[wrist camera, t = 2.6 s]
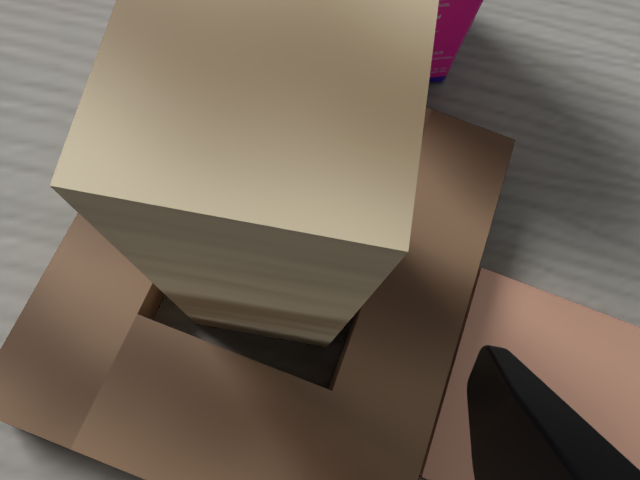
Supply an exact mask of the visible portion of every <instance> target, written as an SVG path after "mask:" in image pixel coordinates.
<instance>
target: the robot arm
mask: <svg viewBox="0 0 640 480" xmlns="http://www.w3.org/2000/svg"><path fill="white" fill-rule="evenodd" d="M467 403H468V416H469V429H470V441H471V454H472V465H473V472H474V478H475V480H640V470H639V469H638V468H637V467H636V466H635V465H634V464H633V463H631V462H630V461H629V460H628V459H627V458H626V457H625V456H624V455H623V454H622V453H620V452H619V451H618V450H617V449H616V448H615V447H614V446H613V445H612V444H611V443H610V442H608V441H607V440H606V439H605V438H604V437H603V436H602V435H601V434H600V433H599V432H598V431H596V430H595V429H594V428H593V427H592V426H591V425H590V424H589V423H588V422H587V421H586V420H584V419H583V418H582V417H581V416H580V415H579V414H578V413H577V412H576V411H575V410H573V409H572V408H571V407H570V406H569V405H568V404H567V403H566V402H565V401H564V400H563V399H561V398H560V397H559V396H558V395H557V394H556V393H555V392H554V391H553V390H552V389H551V388H549V387H548V386H547V385H546V384H545V383H544V382H543V381H542V380H541V379H540V378H538V377H537V376H536V375H535V374H534V373H533V372H532V371H531V370H530V369H529V368H528V367H526V366H525V365H524V364H523V363H522V362H521V361H520V360H519V359H518V358H517V357H516V356H514V355H513V354H512V353H511V352H510V351H509V350H508V349H506V348H502V347H496V346H491V345H485V346H483V347H482V348H481V349H480V351H479V353H478V356H477V358H476V361H475V363H474V366H473V368H472V371H471V373H470V376H469V378H468V382H467Z"/></svg>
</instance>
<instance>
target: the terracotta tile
mask: <svg viewBox="0 0 640 480" xmlns="http://www.w3.org/2000/svg"><path fill="white" fill-rule="evenodd" d="M485 345H491V346H496V347H502V348H506V349H508V350H509V351H510V352H511V353H512V354H513V355H514V356H516V357H517V358H518V359H519V360H520V361H521V362H522V363H523V364H524V365H525V366H526V367H528V368H529V369H530V370H531V371H532V372H533V373H534V374H535V375H536V376H537V377H538V378H540V379H541V380H542V381H543V382H544V383H545V384H546V385H547V386H548V387H549V388H551V389H552V390H553V391H554V392H555V393H556V394H557V395H558V396H559V397H560V398H561V399H563V400H564V401H565V402H566V403H567V404H568V405H569V406H570V407H571V408H572V409H573V410H575V411H576V412H577V413H578V414H579V415H580V416H581V417H582V418H583V419H584V420H586V421H587V422H588V423H589V424H590V425H591V426H592V427H593V428H594V429H595V430H596V431H598V432H599V433H600V434H601V435H602V436H603V437H604V438H605V439H606V440H607V441H608V442H610V443H611V444H612V445H613V446H614V447H615V448H616V449H617V450H618V451H619V452H620V453H622V454H623V455H624V456H625V457H626V458H627V459H628V460H629V461H630V462H631V463H633V464H634V465H635V466H636V467H637V468H638V469H639V470H640V327H637V326H635V325H632V324H629V323H627V322H624V321H621V320H619V319H616V318H614V317H611V316H608V315H606V314H603V313H600V312H598V311H595V310H592V309H590V308H587V307H585V306H582V305H579V304H577V303H574V302H571V301H569V300H566V299H563V298H561V297H558V296H556V295H553V294H550V293H548V292H545V291H542V290H540V289H537V288H535V287H532V286H529V285H527V284H524V283H521V282H519V281H516V280H513V279H511V278H508V277H506V276H503V275H500V274H498V273H495V272H492V271H490V270H487V269H485V268H482V267H481V268H480V269H478V272H477V275H476V279H475V282H474V286H473V289H472V293H471V296H470V300H469V303H468V307H467V310H466V314H465V317H464V321H463V324H462V328H461V331H460V335H459V338H458V342H457V345H456V349H455V352H454V356H453V359H452V363H451V366H450V370H449V373H448V376H447V380H446V383H445V387H444V390H443V394H442V397H441V401H440V404H439V408H438V411H437V415H436V418H435V422H434V425H433V429H432V432H431V436H430V439H429V443H428V446H427V450H426V453H425V457H424V460H423V464H422V467H421V471H420V474H419V476H421V477H423V478H426V479H428V480H475V478H474V472H473V465H472V454H471V441H470V429H469V416H468V403H467V382H468V378H469V376H470V373H471V371H472V368H473V366H474V363H475V361H476V358H477V356H478V353H479V351H480V349H481V348H482V347H483V346H485Z"/></svg>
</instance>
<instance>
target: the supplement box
mask: <svg viewBox="0 0 640 480" xmlns="http://www.w3.org/2000/svg"><path fill="white" fill-rule="evenodd" d="M482 2H483V0H439V4H438V12H437V20H436V28H435V37H434V45H433V53H432V61H431V69H430V78H429V83H436V82H443V81H444V80H445V78H446V75H447V73H448V71H449V69H450V67H451V65H452V63H453V61H454V59H455V57H456V55H457V53H458V50H459V48H460V46H461V44H462V42H463V40H464V38H465V36H466V34H467V32H468V30H469V28H470V26H471V24H472V22H473V20H474V18H475V16H476V14H477V12H478V10H479V8H480V6H481V4H482Z"/></svg>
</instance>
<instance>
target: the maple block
mask: <svg viewBox="0 0 640 480" xmlns="http://www.w3.org/2000/svg"><path fill="white" fill-rule="evenodd" d="M438 4H439V0H116V3H115V6H114V8H113V11H112V14H111V17H110V20H109V22H108V25H107V28H106V31H105V33H104V36H103V39H102V42H101V45H100V47H99V50H98V53H97V56H96V58H95V61H94V64H93V67H92V70H91V72H90V75H89V78H88V81H87V83H86V86H85V89H84V92H83V95H82V97H81V100H80V103H79V106H78V108H77V111H76V114H75V117H74V120H73V122H72V125H71V128H70V131H69V133H68V136H67V139H66V142H65V145H64V147H63V150H62V153H61V156H60V158H59V161H58V164H57V167H56V169H55V172H54V175H53V178H52V181H51V183H50V186H51V187H52V188H53V189H54V190H55V191H56V192H57V193H58V194H59V195H60V196H61V197H62V198H63V199H64V200H65V201H67V202H68V203H69V204H70V205H71V206H72V207H73V208H74V209H75V210H76V211H77V212H78V213H79V214H80V215H81V216H82V217H83V218H85V219H86V220H87V221H88V222H89V223H90V224H91V225H92V226H93V227H94V228H95V229H96V230H97V231H98V232H99V233H100V234H101V235H103V236H104V237H105V238H106V239H107V240H108V241H109V242H110V243H111V244H112V245H113V246H114V247H115V248H116V249H117V250H118V251H119V252H121V253H122V254H123V255H124V256H125V257H126V258H127V259H128V260H129V261H130V262H131V263H132V264H133V265H134V266H135V267H136V268H137V269H138V270H140V271H141V272H142V273H143V274H144V275H145V276H146V277H147V278H148V279H149V280H150V281H151V282H152V283H153V284H154V285H155V286H156V287H158V288H159V289H160V290H161V291H162V292H163V293H164V294H165V295H166V296H167V297H168V298H169V299H170V300H171V301H172V302H173V303H174V304H176V305H177V306H178V307H179V308H180V309H181V310H182V311H183V312H184V313H185V314H186V315H187V316H188V317H189V318H190V319H191V320H192V321H194V322H195V323H196V324H201V325H207V326H212V327H218V328H224V329H229V330H235V331H240V332H246V333H251V334H257V335H262V336H268V337H273V338H279V339H285V340H290V341H296V342H301V343H307V344H312V345H318V346H323V347H327V346H328V345H329V344H330V343H331V342H332V340H333V339H334V338H335V337H336V336H337V335H338V333H339V332H340V331H341V330H342V329H343V328H344V326H345V325H346V324H347V323H348V322H349V321H350V319H351V318H352V317H353V316H354V315H355V314H356V312H357V311H358V310H359V309H360V308H361V307H362V305H363V304H364V303H365V302H366V301H367V300H368V298H369V297H370V296H371V295H372V294H373V293H374V291H375V290H376V289H377V288H378V287H379V286H380V284H381V283H382V282H383V281H384V280H385V279H386V277H387V276H388V275H389V274H390V273H391V272H392V270H393V269H394V268H395V267H396V266H397V265H398V263H399V262H400V261H401V260H402V259H403V258H404V256H405V255H406V254H407V253H408V251H409V242H410V234H411V226H412V218H413V209H414V201H415V193H416V185H417V177H418V168H419V160H420V152H421V144H422V135H423V127H424V119H425V111H426V102H427V94H428V86H429V78H430V69H431V61H432V53H433V45H434V37H435V28H436V20H437V12H438Z"/></svg>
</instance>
